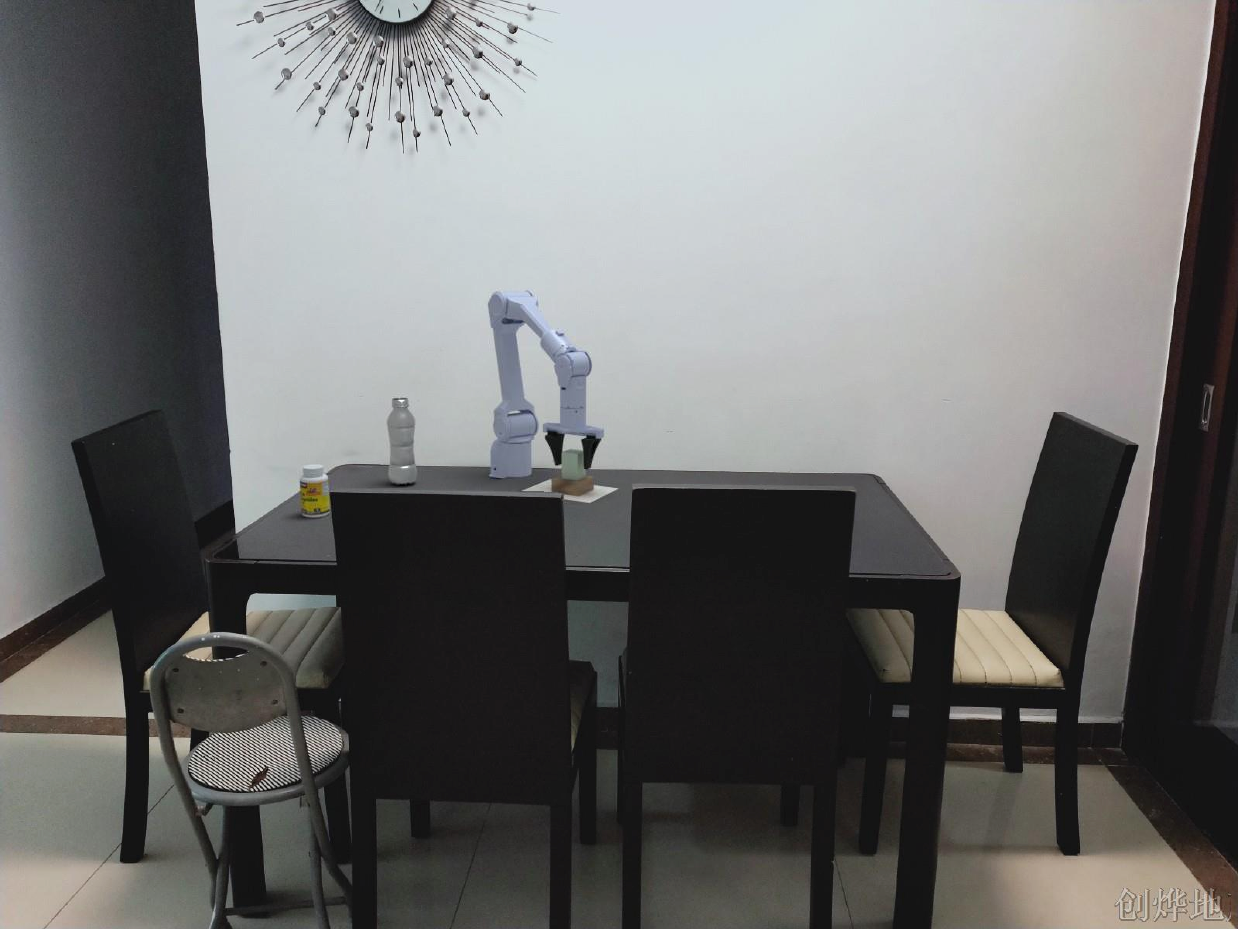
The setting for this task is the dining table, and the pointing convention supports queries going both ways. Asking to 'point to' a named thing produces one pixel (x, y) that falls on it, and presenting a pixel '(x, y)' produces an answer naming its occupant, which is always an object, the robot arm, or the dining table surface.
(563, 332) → the robot arm
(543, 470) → the dining table surface
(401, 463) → the plastic bottle
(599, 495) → the plate
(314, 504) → the supplement bottle
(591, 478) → the walnut base
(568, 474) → the sage block
